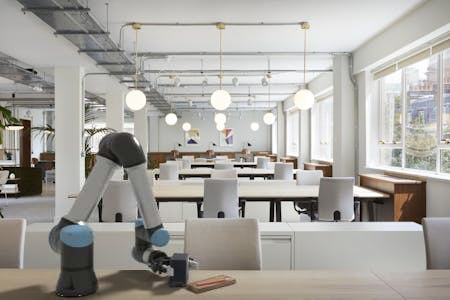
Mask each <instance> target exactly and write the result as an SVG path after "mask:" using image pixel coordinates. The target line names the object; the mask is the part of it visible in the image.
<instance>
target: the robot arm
mask: <svg viewBox="0 0 450 300" xmlns="http://www.w3.org/2000/svg"><path fill="white" fill-rule="evenodd" d="M97 148H98V150H97V151H96V155H95V160H96V162H95V164H94V166H93V168H92V169H91V171H90V173H89V175H88V177H87V179H85V181H84V183H83V186H82V187H81V189H80V191H79V193H78V194H77V196H76V199H75V200H74V201H73V203H72V206H71V208H70V209H69V211H68V213H67V214H64V215H62V216H61V217H60V219H59V221H58V223H57V224H55V225H54V226H53V227H52V228H51V229H50V231H49V233H48V237H47V240H48V241H47V242H48V245H49V246H50V248H51V250H52V251H53V253H56V254H57V255H59V257H60V270H59V271H60V272H59V275H58V278H57V281H56V285H55V294H56V293H57V294H59V295H63V296H79V295H85V296H87V295H86V294H89V295H91V294H90V293H92V292H94V293H95V291H96V290H97V291H99V289H100V287H99V285H100V283H99V280H98V277H97V275H96V271H95V268H94V267H95V266H94V261H95V260H94V259H95V258H94V256H95V255H94V252H95V251H94V250H95V249H94V247H95V246H94V244H95V243H94V241H95V235H94V230H93V228H92V227H90V226H89V222H90V220H91V218H92V216H93V214H94V212H95V210H96V208H97V207H98V205H99V202H100V201H101V199H102V198H103V195H104V193H105V191H106V189H107V187H108V186H109V184H110V182H111V180H112V179H113V177H114V175H115V173H116V171H119V170H121V169H123V170H124V171H126V172H127V173H126V174H127V175H128V176H127V177H128V179H129V182H130V186H131V189H132V192H133V195H134V199H135V201H136V204H137V209H138V211H139V215H140V218H137V219H135V220H134V242H135V244H134V246H133V247H132V248H131V250H130V255H131V257H132V259H133V260H135V261H136V262H137V263H140V264H144V265H146V266H147V267H148V268H150V270H152V272H153V273H154V274H156V273H158V274H159V275H162V274H166V275H168V276H169V277H170V276H173V268H171V267H170V259H171V257H172V256H169V255H167V253H166V252H165V251H163V250H160V249H157V248H154V247H159V248H162V247H163V248H164V247H165V246H167V245H168V243H170V240H171V234H170V232H169V230H167V229H166V228H165V227H164V224H163V222H162V221H163V220H162V217H161V215H160V211H159V208H158V204H157V200H156V198H155V194H154V191H153V187H152V184H151V182H150V177H149V174H148V171H147V168H146V164H147V159H146V156H145V153H144V152H145V151H144V149H143V147H142V144H141V142H140V140H139V139H138V138H137V137H136V136H135V134H133V133H131V132H128V131H122V132H121V131H120V132H110V133H107V134H106V135H104V136H103V137H102V138H101V139H100V140H99V142H98V147H97ZM153 246H154V247H153ZM199 267H200V265H199V262H196V261H194V258H193V257H189V269H192V270H195V271H199V269H200V268H199ZM98 288H99V289H98ZM97 291H96V292H97ZM57 294H56V295H57ZM92 294H93V293H92ZM79 297H80V296H79Z"/></svg>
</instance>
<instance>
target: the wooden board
mask: <svg viewBox="0 0 450 300" xmlns="http://www.w3.org/2000/svg"><path fill="white" fill-rule="evenodd" d="M224 278H225V279H227V278H229V279H230V280H228V281H224V282H219V283H213V284H208V285H203V286H197V283H203V282H208V281H213V280H219V279H224ZM233 283H234V284H237V278H235V277H232V276H229V275H225V274H219V275H217V276H212V277H208V278H207V277H206V278H204V279H199V280H195V281H192V282H191V281H190V282H187V284H186V288H187V289H189V290H191V291H194V292H195V293H197V294H199V293H203V292H207V291H211V290H214V289H218V288H222V287H225V286H230V285H233Z"/></svg>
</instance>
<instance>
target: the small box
mask: <svg viewBox="0 0 450 300" xmlns="http://www.w3.org/2000/svg"><path fill="white" fill-rule="evenodd" d="M189 254H190V253H179V252H174V253H173V254H172V255H171V256H170V257H171V259H170V266H169V267H171V268H173V276H170V275H169V287H186V284H187V283H188V281H189V279H190V278H189V276H190V275H189V274H190V270H189V269H190V268H189V258H190V257H189V256H190V255H189Z"/></svg>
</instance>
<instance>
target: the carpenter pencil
mask: <svg viewBox="0 0 450 300" xmlns="http://www.w3.org/2000/svg"><path fill="white" fill-rule="evenodd" d="M228 280H230V279H229V278H227V279H225V278H224V279H219V280H213V281H208V282H203V283H197V286H203V285H208V284H213V283H219V282H224V281H228Z"/></svg>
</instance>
